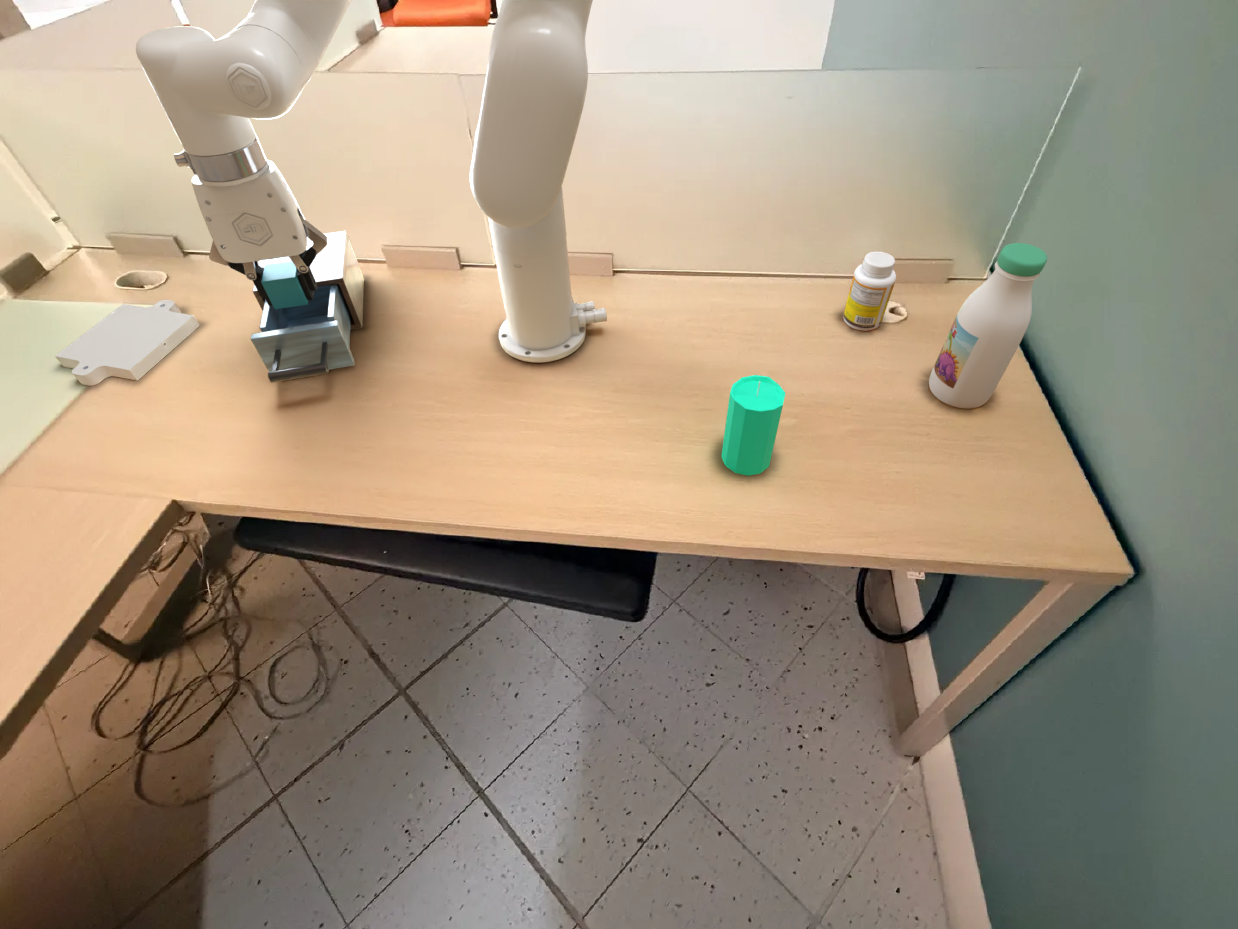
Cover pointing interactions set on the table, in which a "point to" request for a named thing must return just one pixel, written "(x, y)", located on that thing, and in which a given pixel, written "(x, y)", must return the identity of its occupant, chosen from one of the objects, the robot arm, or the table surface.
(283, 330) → the drawer
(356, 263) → the cabinet
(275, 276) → the teal wooden cube
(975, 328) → the milk bottle
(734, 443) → the candle
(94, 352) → the mounting plate
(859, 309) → the supplement bottle
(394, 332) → the table surface
